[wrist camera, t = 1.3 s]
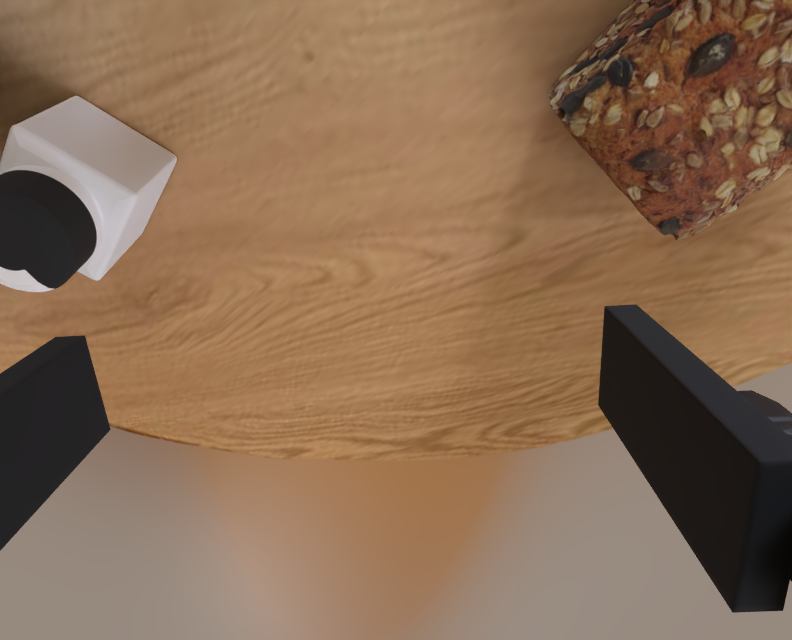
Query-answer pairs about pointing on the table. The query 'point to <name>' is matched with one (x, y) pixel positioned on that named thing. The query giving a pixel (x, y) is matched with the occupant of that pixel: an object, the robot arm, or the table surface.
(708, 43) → the bread
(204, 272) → the table surface
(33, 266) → the medicine bottle
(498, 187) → the table surface
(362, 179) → the table surface
